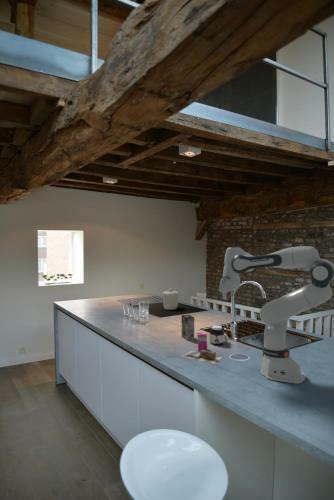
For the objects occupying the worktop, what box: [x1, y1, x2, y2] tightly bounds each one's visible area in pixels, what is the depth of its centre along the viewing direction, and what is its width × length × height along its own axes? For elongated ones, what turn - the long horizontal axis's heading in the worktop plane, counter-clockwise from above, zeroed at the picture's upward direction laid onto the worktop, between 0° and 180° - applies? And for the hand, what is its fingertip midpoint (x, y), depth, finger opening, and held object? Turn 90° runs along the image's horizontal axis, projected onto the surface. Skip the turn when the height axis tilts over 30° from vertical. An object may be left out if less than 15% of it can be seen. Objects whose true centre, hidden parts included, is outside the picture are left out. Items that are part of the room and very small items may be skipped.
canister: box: [161, 287, 180, 311], centre depth 349 cm, size 18×18×21 cm
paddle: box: [185, 349, 217, 360], centre depth 206 cm, size 17×8×4 cm, turn 55°
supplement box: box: [197, 332, 208, 352], centre depth 218 cm, size 6×6×12 cm
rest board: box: [181, 350, 223, 365], centre depth 206 cm, size 22×12×1 cm, turn 55°
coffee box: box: [181, 314, 195, 341], centre depth 247 cm, size 9×6×16 cm
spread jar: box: [208, 325, 230, 346], centre depth 235 cm, size 12×11×12 cm
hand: (228, 298), depth 196 cm, fingers open, 8 cm apart
